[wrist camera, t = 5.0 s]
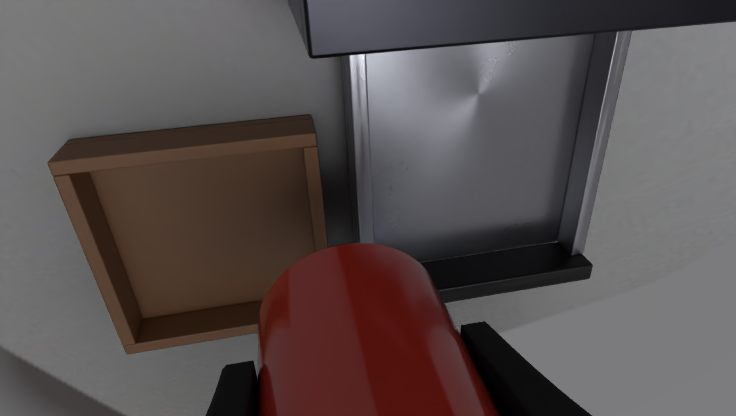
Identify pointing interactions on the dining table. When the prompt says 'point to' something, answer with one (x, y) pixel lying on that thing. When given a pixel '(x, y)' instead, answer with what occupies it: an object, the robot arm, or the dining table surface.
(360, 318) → the glossy red cylinder
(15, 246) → the dining table surface
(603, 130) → the tray
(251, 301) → the tray
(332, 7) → the oven
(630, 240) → the dining table surface
